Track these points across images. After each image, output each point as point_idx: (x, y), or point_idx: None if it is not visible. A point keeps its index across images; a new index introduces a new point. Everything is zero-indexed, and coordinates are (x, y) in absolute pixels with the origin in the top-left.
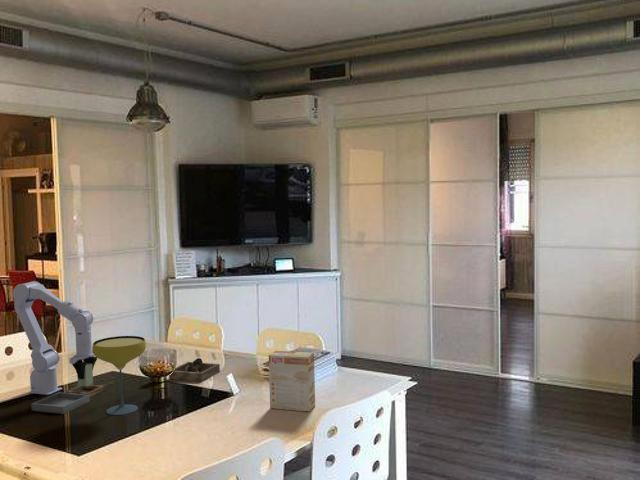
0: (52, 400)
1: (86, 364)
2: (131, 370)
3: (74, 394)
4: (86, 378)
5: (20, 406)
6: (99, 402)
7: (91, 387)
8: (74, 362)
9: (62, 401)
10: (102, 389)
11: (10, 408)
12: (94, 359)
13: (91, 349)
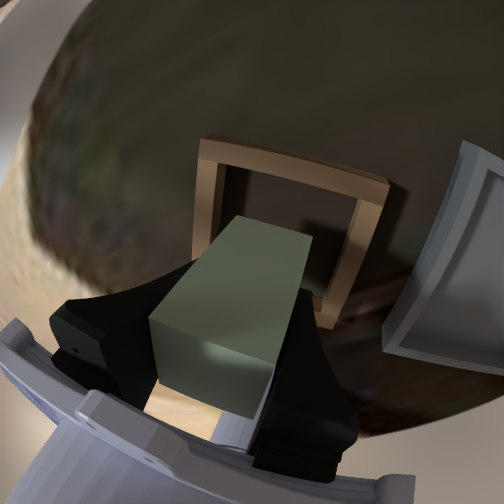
0: (439, 337)
1: (198, 364)
2: (12, 179)
3: (449, 258)
4: (297, 268)
5: (441, 399)
6: (473, 72)
7: (215, 228)
8: (404, 485)
9: (472, 290)
10: (237, 141)
11: (450, 410)
12: (100, 327)
13: (47, 485)
